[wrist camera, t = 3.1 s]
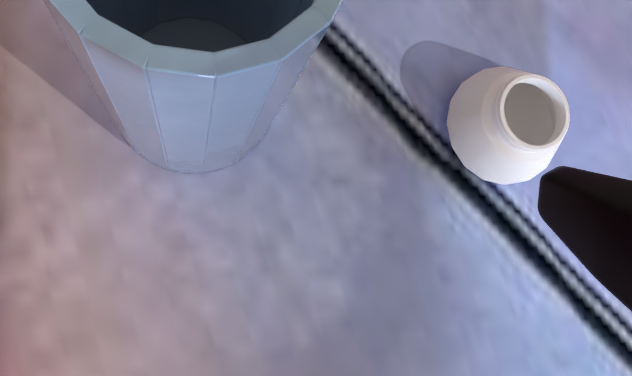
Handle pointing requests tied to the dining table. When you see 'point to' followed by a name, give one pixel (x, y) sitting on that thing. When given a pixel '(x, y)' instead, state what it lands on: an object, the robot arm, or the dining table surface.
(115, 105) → the blue tumbler
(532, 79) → the white jar
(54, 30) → the dining table surface
